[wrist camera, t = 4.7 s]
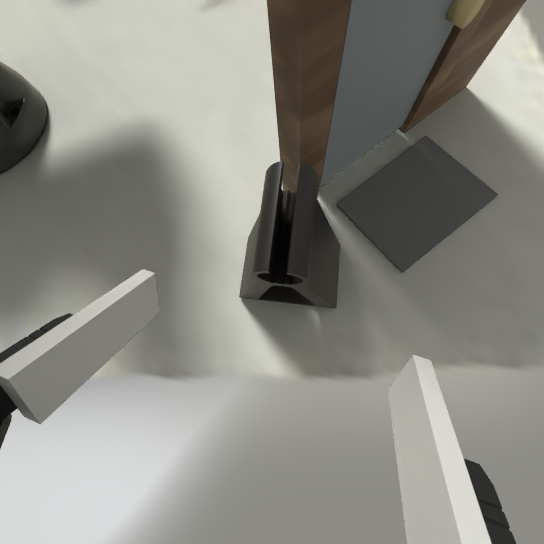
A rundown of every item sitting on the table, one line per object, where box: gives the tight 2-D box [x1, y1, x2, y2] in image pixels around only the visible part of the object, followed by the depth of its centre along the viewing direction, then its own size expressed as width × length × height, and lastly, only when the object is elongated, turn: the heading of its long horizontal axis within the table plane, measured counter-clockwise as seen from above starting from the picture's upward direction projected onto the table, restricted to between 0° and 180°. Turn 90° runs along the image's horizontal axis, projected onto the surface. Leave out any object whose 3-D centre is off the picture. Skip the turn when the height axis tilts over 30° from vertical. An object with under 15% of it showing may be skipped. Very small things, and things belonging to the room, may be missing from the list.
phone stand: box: [239, 161, 340, 308], centre depth 18 cm, size 9×6×12 cm, turn 83°
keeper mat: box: [337, 136, 498, 272], centre depth 24 cm, size 9×12×1 cm
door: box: [319, 0, 485, 187], centre depth 15 cm, size 11×3×21 cm, turn 128°
